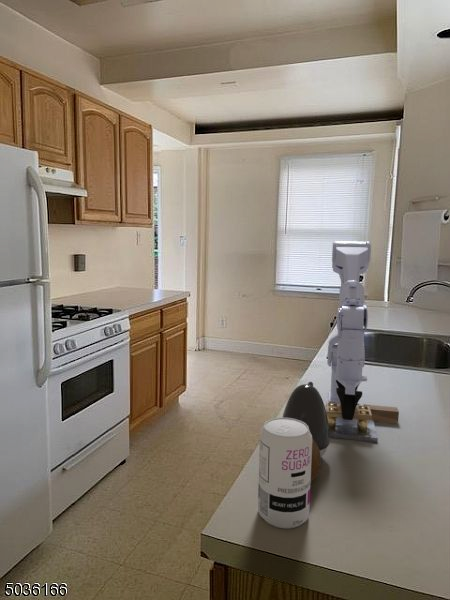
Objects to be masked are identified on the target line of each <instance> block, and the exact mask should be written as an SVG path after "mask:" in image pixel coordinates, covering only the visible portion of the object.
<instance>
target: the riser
mask: <svg viewBox="0 0 450 600" xmlns="http://www.w3.org/2000/svg"><path fill="white" fill-rule="evenodd" d="M363 406H369V407H370V410H371V414H372V420H373V421H374V422H381V423H388V424H389V423H390V424H399V418H400V417H399V415H400V411H399V409H398V407H397V406H386V405H375V404H366V403H364V404H363Z"/></svg>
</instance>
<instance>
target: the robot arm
mask: <svg viewBox="0 0 450 600" xmlns="http://www.w3.org/2000/svg"><path fill="white" fill-rule="evenodd" d="M371 244H372V243H371V242H370V241H369V240H368V241H344V240H343V241H341V240H340V241H339V240H338V241H337V240H334V241H333V242H332V248H331V249H332V250H331V254H332V255H331V269H332V272H333V273H336V274H338V275H339V276H338V277H339V279H340V286H339V296H338V297H339V299H338V301H339V305H338V306H339V307H338V308H337V313H336V316H337V317H336V328H337V333H336V334H334V335H333V336H331V337H330V338H329V340H328V345H327V363H326V364H327V365H328V367H331V374H330V375H331V377H330V379H331V380H330V389H329V390H328V403H338V404H341V411H342V417H343V419H345V420H352V419H353V417H354V413H355V409H356V406H357V405H360V399H361V398H362V397H363V391H362V390H361V391H360V390H358V388H359V386H360V384H361V383H362V382H368V376H366V375H363V368H365V363H366V362H365V360H366V352H365V351H366V349H365V346H366V345H365V332H366V331H367V330H368V329H367V328H368V323H369V313H368V312H369V311H368V307H367V303H366V302H365V301H366V297H365V286H364V285H363V284H362V283H360V276H361V275H362V274H363V275H364V274H365V273H367V271H368V269H369V265H370V262H371V254H372V245H371Z"/></svg>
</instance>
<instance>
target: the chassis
mask: <svg viewBox="0 0 450 600" xmlns="http://www.w3.org/2000/svg"><path fill="white" fill-rule="evenodd" d="M330 406H332V407H334V404H330ZM360 409H365V407H360ZM330 411H333V412H334V409H333V408H330ZM361 414H366V412H364V411H362V412H361ZM327 418H328V424H329V432H330V438H336V439H343V440H350V441H351V440H352V441H360V442H369V443H370V442H371V443H378V441H379V437H378V434H377V429H376V425H375V421H373V420H372V421H371V420H360V419H352V420H345V419H343V418H339V417H328V416H327Z"/></svg>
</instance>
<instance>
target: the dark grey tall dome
mask: <svg viewBox="0 0 450 600" xmlns="http://www.w3.org/2000/svg"><path fill="white" fill-rule="evenodd" d="M281 418H292V419H297V420H300V421H302V422H304V423H306V425H307V426H308V429H309V431H310V433H311V435H312V438H313V439H314V440H315V442H316V444H317V446H318V447H319V450H320V456H321V458H322V457H324V455H325V454H326V452H327V449H328V447H329V446H330V443H331V437H330V432H329V424H328V418H327V414H326V405H325V403H324V400H323V398H322V396H321V394H320V392H319V391H318V389H317V388H316V387H314V383H313V382H312V381H309V382H307V384H305V383H304V384H300V385H298V386H296V387H295V388H294V389H293V390H292V392H291V394H290V395H289V396H288V399H287V401H286V405H285V407H284V410H283V414H282V417H281Z"/></svg>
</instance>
